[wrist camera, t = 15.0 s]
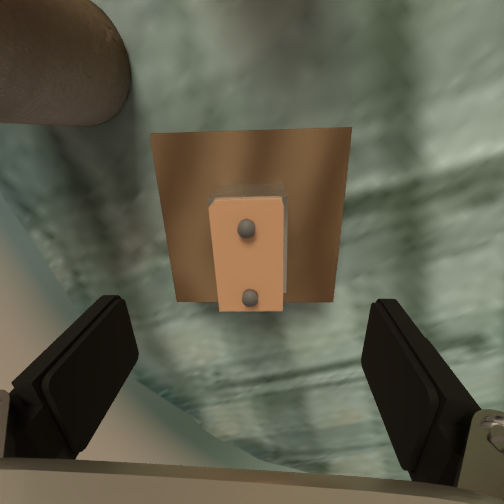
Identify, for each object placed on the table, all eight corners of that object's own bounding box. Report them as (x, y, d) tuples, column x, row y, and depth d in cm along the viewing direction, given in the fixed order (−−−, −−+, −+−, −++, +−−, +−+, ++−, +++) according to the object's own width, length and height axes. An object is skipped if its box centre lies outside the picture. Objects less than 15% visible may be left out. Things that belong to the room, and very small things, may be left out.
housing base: (283, 183, 21) (288, 195, 16) (282, 263, 24) (286, 292, 19) (220, 184, 21) (208, 197, 17) (226, 263, 24) (217, 293, 19)
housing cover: (281, 198, 17) (284, 207, 14) (281, 294, 19) (283, 315, 17) (214, 200, 17) (206, 210, 14) (223, 295, 20) (218, 316, 17)
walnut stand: (335, 129, 24) (352, 127, 19) (322, 276, 30) (333, 302, 25) (170, 134, 25) (149, 133, 20) (190, 277, 31) (176, 301, 26)
